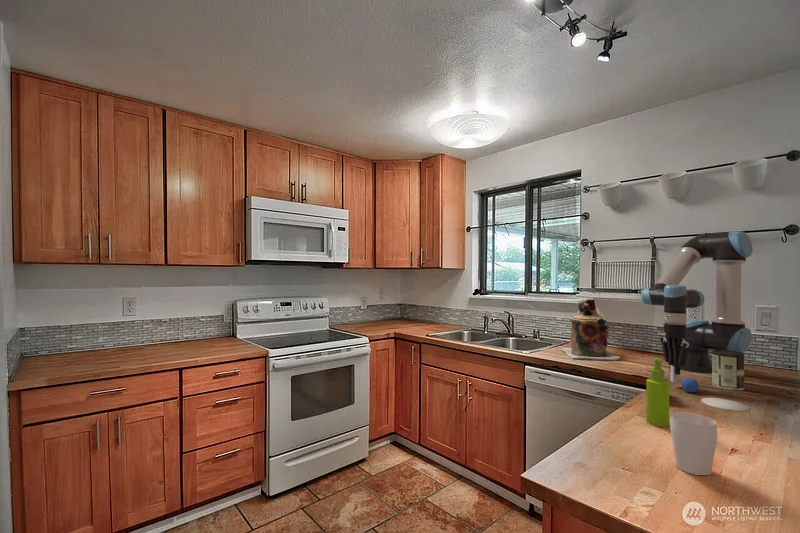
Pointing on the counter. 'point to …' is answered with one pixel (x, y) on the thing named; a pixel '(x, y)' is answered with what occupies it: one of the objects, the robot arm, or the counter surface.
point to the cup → (693, 442)
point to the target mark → (725, 404)
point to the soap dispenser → (657, 396)
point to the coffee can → (728, 369)
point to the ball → (690, 385)
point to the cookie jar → (589, 334)
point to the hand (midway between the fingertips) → (674, 381)
